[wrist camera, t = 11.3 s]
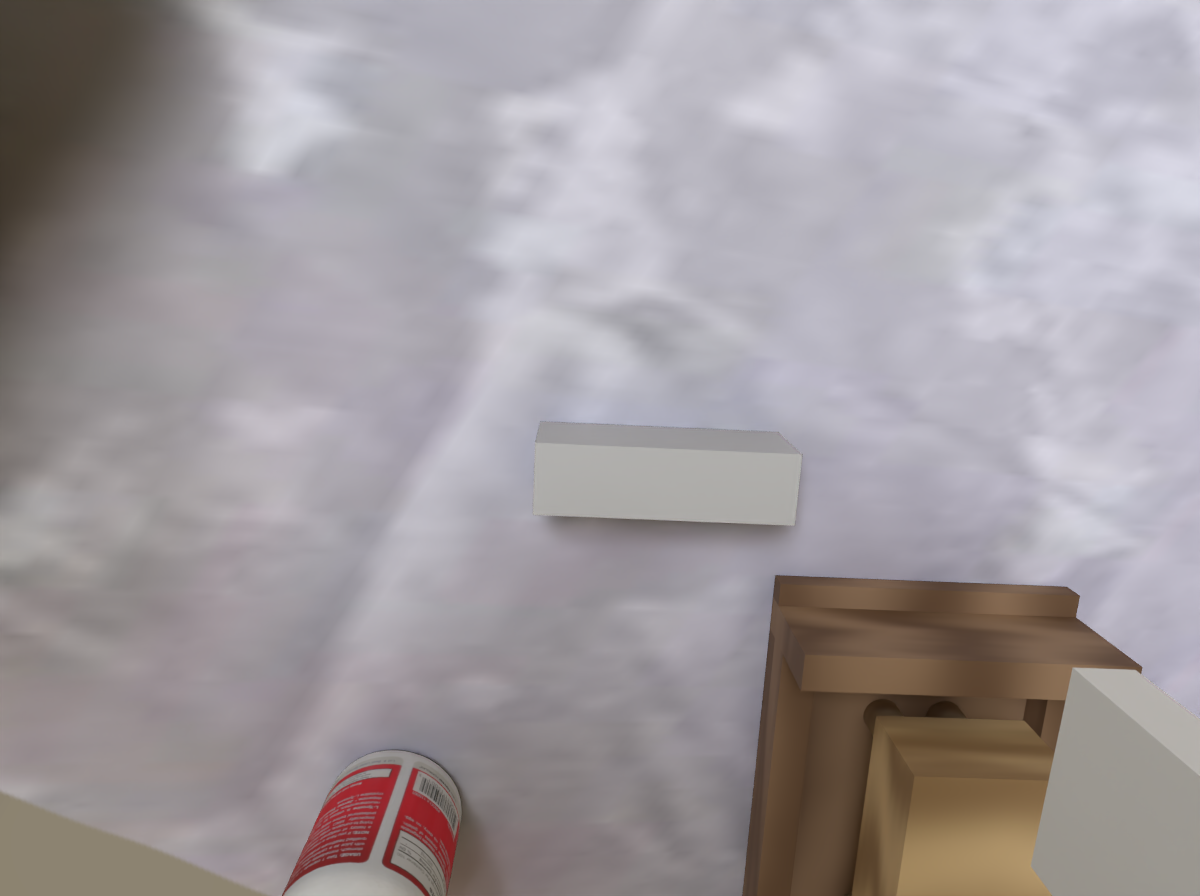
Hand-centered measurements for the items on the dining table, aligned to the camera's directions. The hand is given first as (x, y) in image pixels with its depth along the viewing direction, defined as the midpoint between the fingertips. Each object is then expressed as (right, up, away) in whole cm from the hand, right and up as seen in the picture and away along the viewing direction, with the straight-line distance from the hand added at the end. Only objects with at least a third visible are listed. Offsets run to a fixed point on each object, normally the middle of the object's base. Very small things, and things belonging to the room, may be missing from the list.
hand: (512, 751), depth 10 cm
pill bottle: (-8, -13, +30) cm, 33 cm away
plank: (+15, -14, +26) cm, 33 cm away
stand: (+3, +3, +26) cm, 26 cm away
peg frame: (+15, -13, +30) cm, 36 cm away
